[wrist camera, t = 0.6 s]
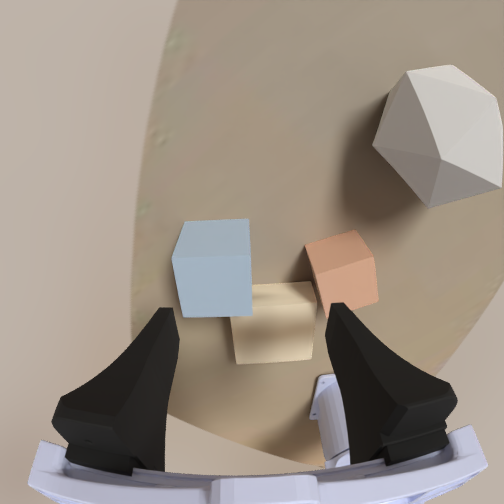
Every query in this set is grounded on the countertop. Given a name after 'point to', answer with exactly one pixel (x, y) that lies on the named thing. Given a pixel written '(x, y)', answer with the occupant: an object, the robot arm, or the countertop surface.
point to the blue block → (214, 268)
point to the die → (442, 135)
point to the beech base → (276, 324)
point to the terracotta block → (343, 271)
